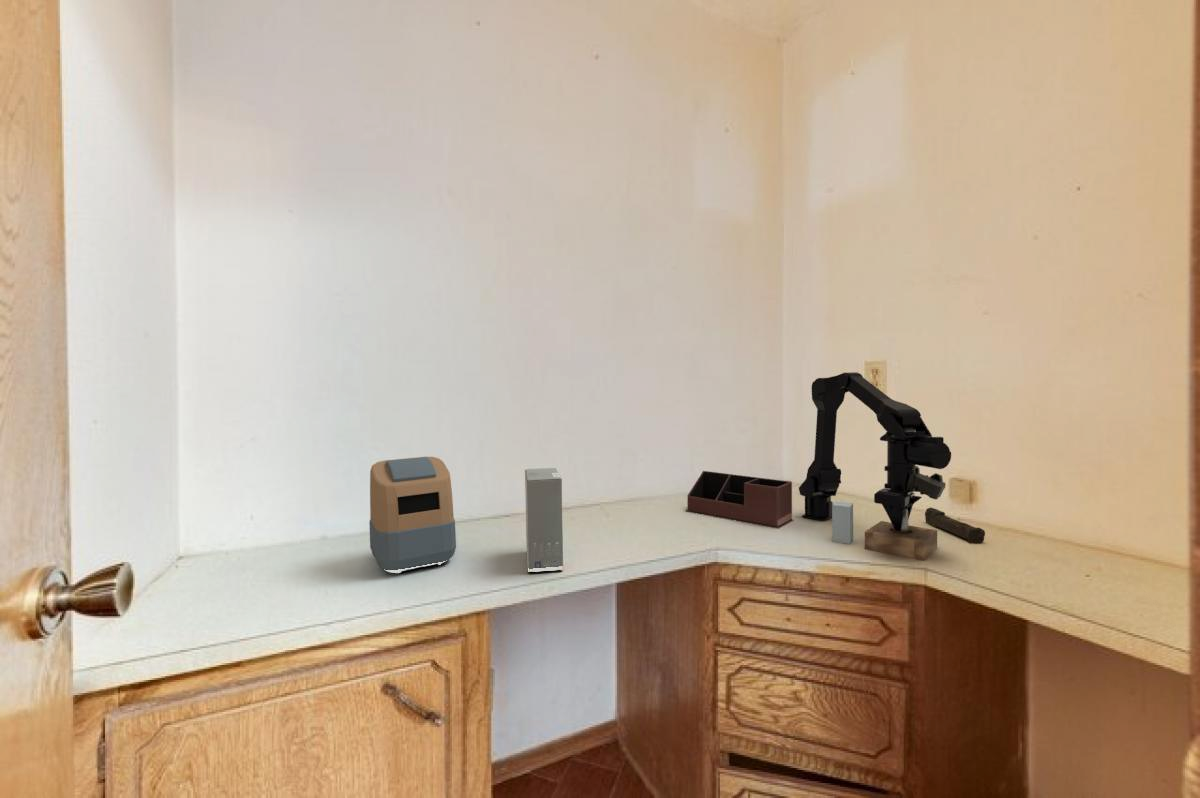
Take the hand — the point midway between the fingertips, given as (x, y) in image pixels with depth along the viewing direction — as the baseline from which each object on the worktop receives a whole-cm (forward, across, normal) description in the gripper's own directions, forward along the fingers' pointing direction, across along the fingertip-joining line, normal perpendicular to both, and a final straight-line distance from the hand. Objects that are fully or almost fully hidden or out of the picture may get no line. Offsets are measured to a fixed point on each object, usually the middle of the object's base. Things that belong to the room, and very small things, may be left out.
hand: (900, 528), depth 123 cm
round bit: (+4, 0, 0) cm, 4 cm away
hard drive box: (+5, -61, +56) cm, 83 cm away
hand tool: (+5, +21, -5) cm, 22 cm away
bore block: (+4, 0, 0) cm, 4 cm away
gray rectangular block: (+4, -3, +12) cm, 13 cm away
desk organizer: (+5, +1, +43) cm, 43 cm away
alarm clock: (+5, -81, +78) cm, 113 cm away
